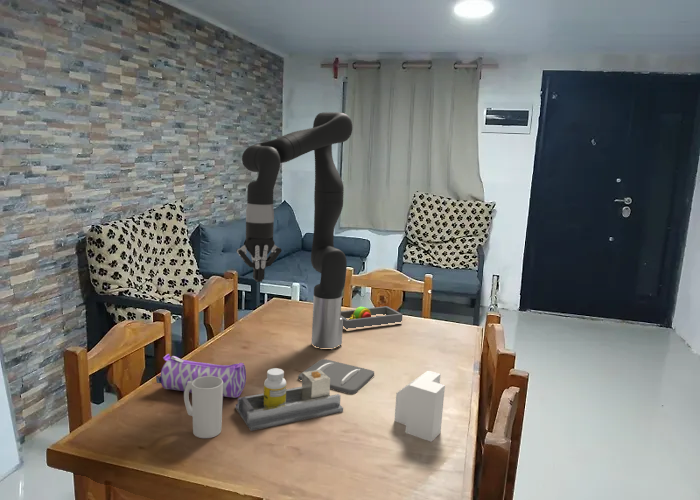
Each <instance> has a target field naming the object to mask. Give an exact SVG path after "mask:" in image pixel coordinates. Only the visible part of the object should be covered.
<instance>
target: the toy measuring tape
mask: <svg viewBox="0 0 700 500" xmlns="http://www.w3.org/2000/svg"><path fill="white" fill-rule="evenodd" d="M368 308H369V307H368ZM368 308H367V307H366V306H365V307H364V306H361V305H360V306H358V307H357V308H355V309H354V310H355V311H354V313H353V315H351V317H350V319H349V320H351V319H359V318H368V317H371V312H370V310H369V309H368ZM383 315H385V314H383Z"/></svg>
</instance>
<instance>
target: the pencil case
mask: <svg viewBox="0 0 700 500" xmlns="http://www.w3.org/2000/svg"><path fill="white" fill-rule="evenodd" d="M162 358H163V360H164V361H165V362H164V364H163V366H162V368H161V371H160V375H156V376H155V377H156V378H155V379H156V384H161V386H162V388H163V389H165V390H174V391H178V392H179V391H181V392H184V391H185V388H186V386H187V382H188V381H191V382H192V381H193V380H195V379H196V378H199V377H203V376H215V377H219V378H221V379H222V380H223V397H227V398H234V399H236V398H239V397H240V396H241V394H242V393H243V391H244V389H245V387H246V386H245V385H246V383H247V382H246V381H247V370H246V365H245V364H244V363H243V362H239V363H233V364H229V365H228V364H227V365H225V364H216V363H215V364H213V363H211V362H210V363H208V362H202V361H201V362H198V361H194V360H187V359H182V358H179V357H178V356H175V355H172V356H170V353H167V354H166V355H165V356H163V357H162ZM189 394H192V389H191V390H190V391H189Z"/></svg>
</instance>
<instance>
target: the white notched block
mask: <svg viewBox="0 0 700 500" xmlns="http://www.w3.org/2000/svg"><path fill="white" fill-rule="evenodd" d="M440 382H441V373H438V372H435V371H431V370H426V371H425V372H424V373H422V374H420V375H419V376H418V377H416V378H415V379H413V380H412V381H410V382H409V383H408V384H407V385H405V386H403V387H402V388H401V389H400V390H398V392H396V395H395V406H394V407H395V409H394V422H396V423H398V424H402V425H405V434H407V435H408V434H409V435H411V436H414V437H416V438H419V439H422V440H425V441H428V442H433V441H434V440H435V439H436V438H437V436H438V437H439V435H440V433H441V432H442V421H443V420H442V419H443V412H444V411H443V410H444V399H445V391H446V390H445V388H446V385H445V384H442V383H440Z"/></svg>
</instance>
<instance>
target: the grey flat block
mask: <svg viewBox="0 0 700 500" xmlns="http://www.w3.org/2000/svg"><path fill="white" fill-rule="evenodd" d="M314 370H321V371H322V372H323V373H324V374H326V375H327V376H328V377H329V378H330V390H333V389H334V391H337V390H338V392H340V391H341V392H342V393H344V392H345V393H344V394H348V393H349V395H353V394H356V393H357V391H358V390H359V391H360V390H361V389H362V388H363V387H364V386H365V385H367V384H368V383H369V382H368V381H369V380H370V379H371V378H372V377H373V376H374V377H375V371H374V370H372V369H368V368H365V367H359V366H356V365H352V364H347V363H342V362H339V361H335V360H331V359H327V358H326V359H325V358H322V359H319V360H318V361H316V362H315V363H314V364H312V365H310V366H309V367H308V368H306V369H305V370H304V371H303V372H308V371H314ZM374 377H373V378H374ZM373 378H372V379H373ZM298 379H300V380H302V372H301V373H299V374H298V376H297V380H298ZM372 379H371V380H372ZM300 380H299V381H300ZM371 380H370V381H371ZM359 391H358V392H359Z"/></svg>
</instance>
